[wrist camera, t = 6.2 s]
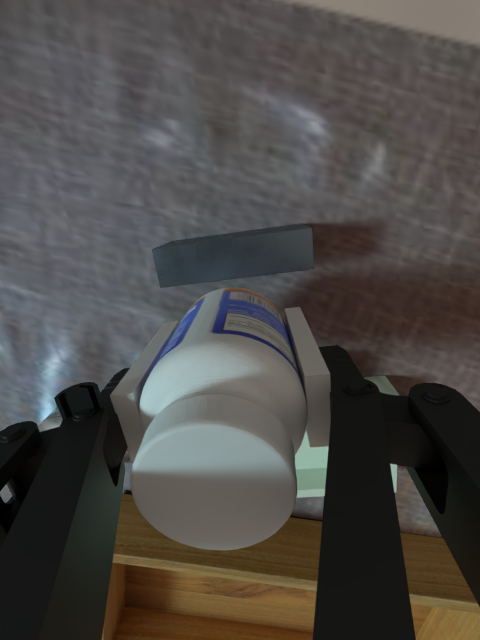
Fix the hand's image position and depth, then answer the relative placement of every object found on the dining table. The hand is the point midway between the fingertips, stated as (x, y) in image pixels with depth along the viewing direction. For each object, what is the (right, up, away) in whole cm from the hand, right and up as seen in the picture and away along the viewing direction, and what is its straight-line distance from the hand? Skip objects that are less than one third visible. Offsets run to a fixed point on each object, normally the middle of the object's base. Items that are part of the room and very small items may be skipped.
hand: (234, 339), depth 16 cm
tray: (+4, -23, +14) cm, 27 cm away
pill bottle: (0, 0, 0) cm, 1 cm away
